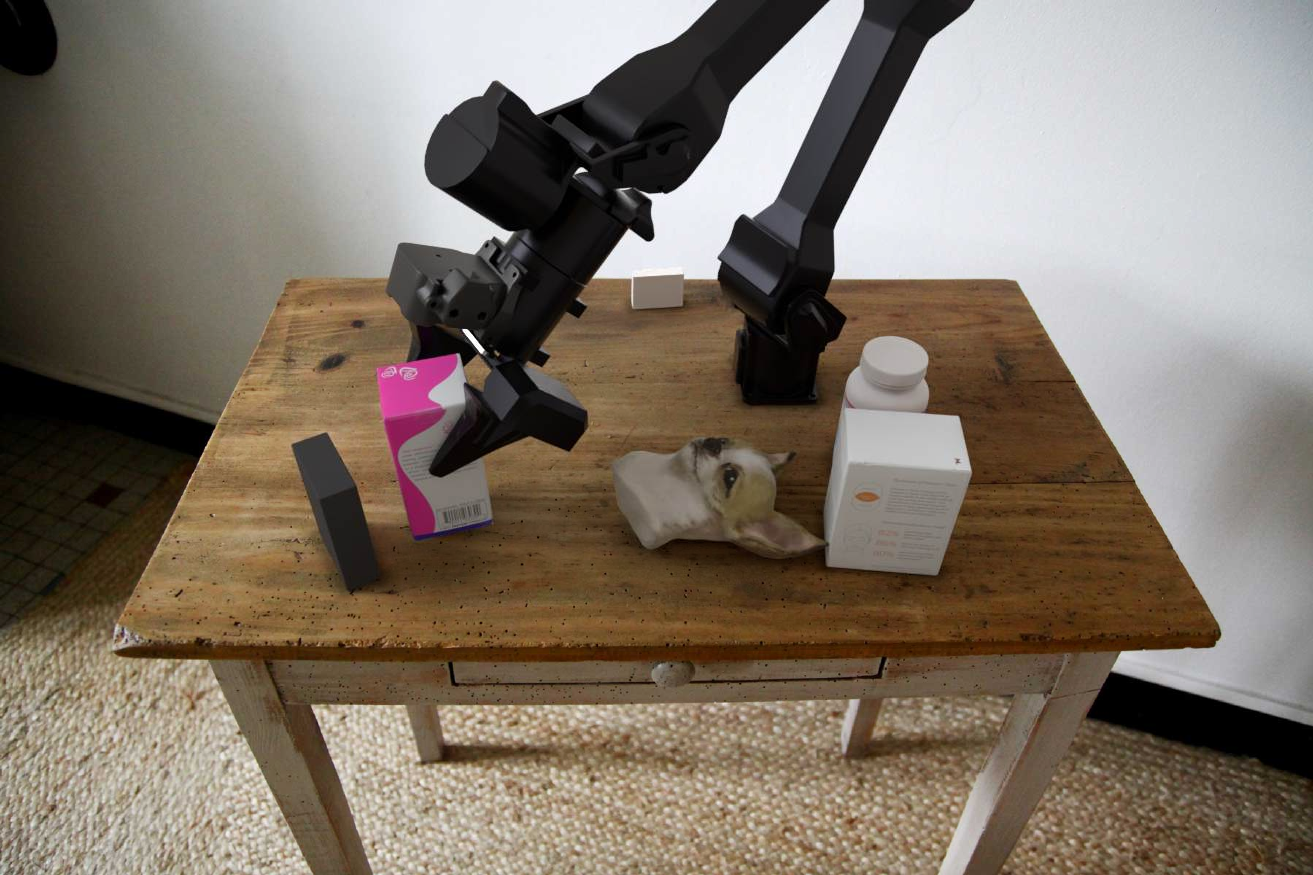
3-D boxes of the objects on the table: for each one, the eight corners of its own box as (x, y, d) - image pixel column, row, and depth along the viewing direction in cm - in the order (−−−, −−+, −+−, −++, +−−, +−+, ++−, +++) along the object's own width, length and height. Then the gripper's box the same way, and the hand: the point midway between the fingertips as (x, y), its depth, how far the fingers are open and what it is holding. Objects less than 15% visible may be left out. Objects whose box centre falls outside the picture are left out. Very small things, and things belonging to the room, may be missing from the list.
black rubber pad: (353, 522, 68) (326, 431, 62) (381, 577, 64) (356, 485, 58) (320, 535, 67) (290, 443, 61) (348, 592, 63) (318, 500, 57)
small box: (928, 520, 69) (963, 414, 62) (938, 578, 65) (976, 471, 58) (821, 511, 70) (843, 404, 63) (823, 568, 66) (847, 460, 59)
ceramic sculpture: (605, 393, 65) (809, 389, 68) (600, 480, 71) (787, 473, 74) (621, 502, 58) (850, 493, 60) (613, 589, 64) (823, 578, 66)
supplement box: (481, 470, 70) (462, 349, 62) (494, 526, 66) (476, 404, 58) (403, 485, 69) (374, 364, 61) (412, 543, 65) (382, 421, 57)
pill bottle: (912, 452, 75) (944, 339, 67) (901, 503, 71) (934, 388, 63) (838, 434, 76) (861, 322, 69) (823, 483, 72) (846, 369, 64)
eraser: (682, 306, 90) (684, 273, 87) (633, 310, 89) (633, 277, 87) (680, 299, 91) (682, 266, 88) (631, 302, 90) (631, 270, 87)
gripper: (398, 139, 59) (269, 332, 62) (529, 275, 48) (363, 504, 51) (519, 218, 68) (400, 385, 71) (655, 350, 56) (507, 542, 59)
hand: (415, 444), depth 63 cm, fingers closed on supplement box, 6 cm apart
